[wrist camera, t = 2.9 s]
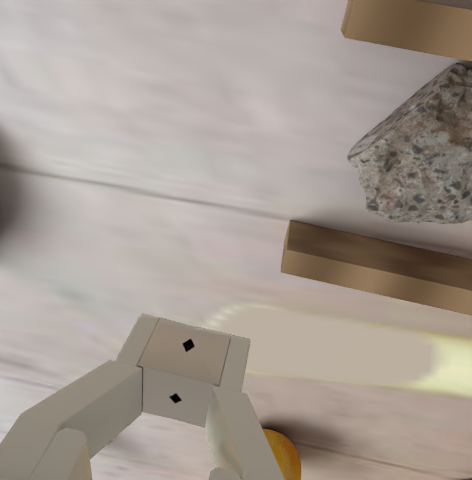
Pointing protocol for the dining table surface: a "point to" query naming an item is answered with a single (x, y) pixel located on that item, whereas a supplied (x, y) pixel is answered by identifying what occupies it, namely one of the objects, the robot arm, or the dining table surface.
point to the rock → (422, 154)
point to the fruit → (284, 454)
